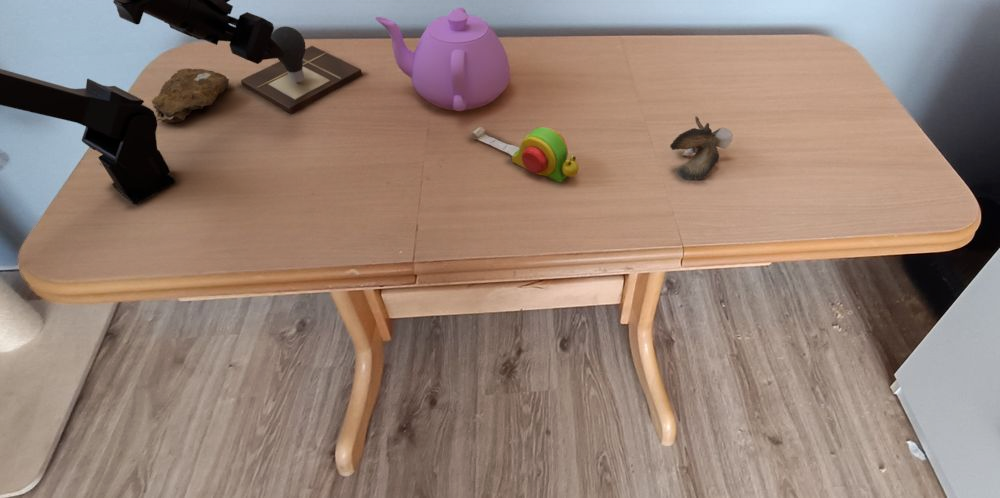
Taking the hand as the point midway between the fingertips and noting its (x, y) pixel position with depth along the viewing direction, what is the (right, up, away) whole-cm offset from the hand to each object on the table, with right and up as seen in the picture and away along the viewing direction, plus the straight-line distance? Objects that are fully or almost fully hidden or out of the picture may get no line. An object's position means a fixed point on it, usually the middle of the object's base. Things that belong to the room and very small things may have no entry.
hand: (262, 46), depth 94 cm
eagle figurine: (+68, -19, -4) cm, 71 cm away
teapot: (+29, -5, +10) cm, 31 cm away
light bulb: (+3, -3, +9) cm, 10 cm away
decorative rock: (-15, -8, +7) cm, 18 cm away
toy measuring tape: (+42, -19, -3) cm, 46 cm away
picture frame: (+2, -2, +12) cm, 13 cm away
